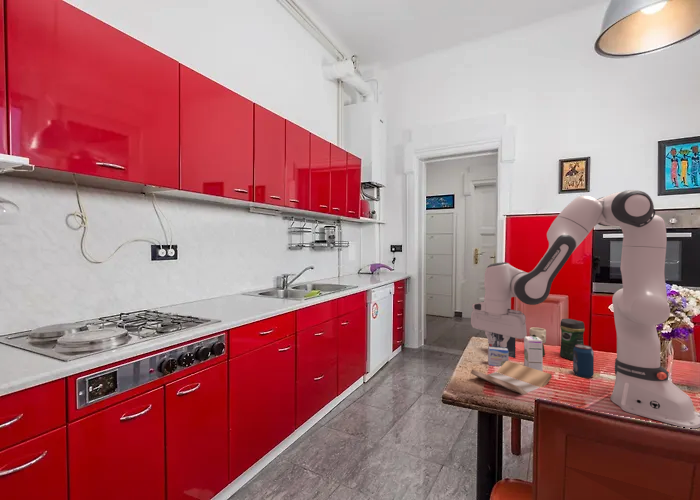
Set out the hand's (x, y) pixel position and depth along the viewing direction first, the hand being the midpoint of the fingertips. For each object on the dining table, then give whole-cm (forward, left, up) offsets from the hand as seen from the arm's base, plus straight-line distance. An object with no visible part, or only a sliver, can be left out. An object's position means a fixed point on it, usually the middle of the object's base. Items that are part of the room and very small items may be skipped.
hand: (497, 345), depth 121 cm
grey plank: (+1, -10, -17) cm, 20 cm away
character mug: (+15, -55, -17) cm, 60 cm away
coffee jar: (+4, -65, -17) cm, 68 cm away
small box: (+25, -41, -17) cm, 51 cm away
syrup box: (+4, -31, -17) cm, 36 cm away
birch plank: (+1, -2, -15) cm, 15 cm away
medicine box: (+15, -23, -17) cm, 33 cm away
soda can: (-9, -45, -17) cm, 49 cm away
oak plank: (+1, -19, -15) cm, 24 cm away
